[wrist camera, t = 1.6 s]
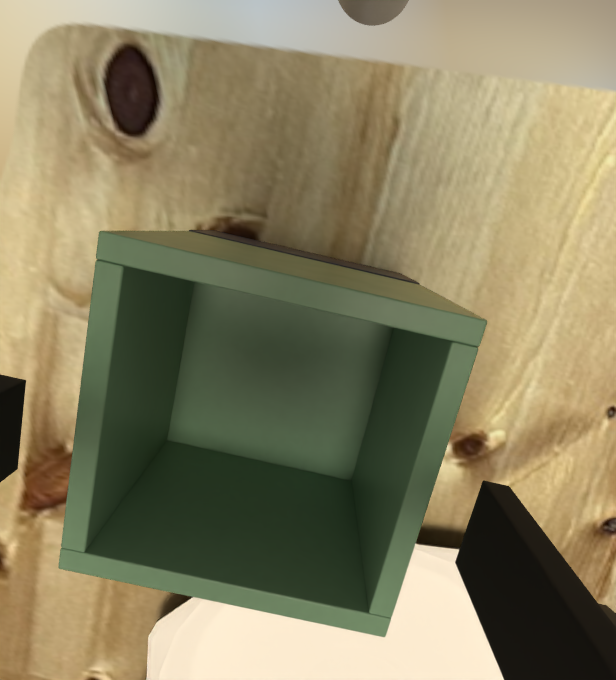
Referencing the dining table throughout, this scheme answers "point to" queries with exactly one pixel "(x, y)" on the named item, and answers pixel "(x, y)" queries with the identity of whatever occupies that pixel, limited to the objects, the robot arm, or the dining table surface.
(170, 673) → the plate
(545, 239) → the dining table surface
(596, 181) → the dining table surface
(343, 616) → the green tub
